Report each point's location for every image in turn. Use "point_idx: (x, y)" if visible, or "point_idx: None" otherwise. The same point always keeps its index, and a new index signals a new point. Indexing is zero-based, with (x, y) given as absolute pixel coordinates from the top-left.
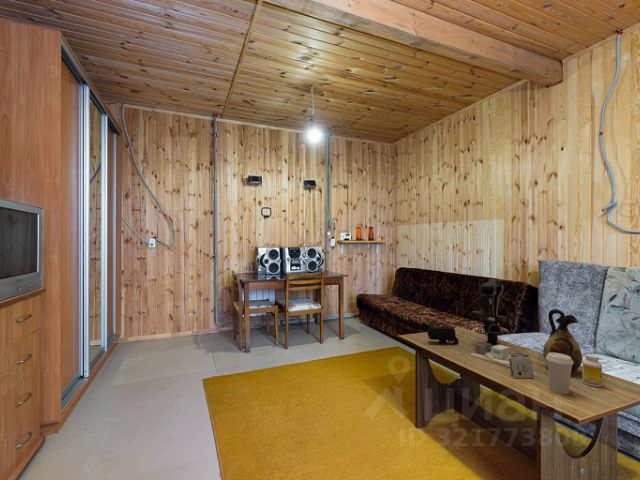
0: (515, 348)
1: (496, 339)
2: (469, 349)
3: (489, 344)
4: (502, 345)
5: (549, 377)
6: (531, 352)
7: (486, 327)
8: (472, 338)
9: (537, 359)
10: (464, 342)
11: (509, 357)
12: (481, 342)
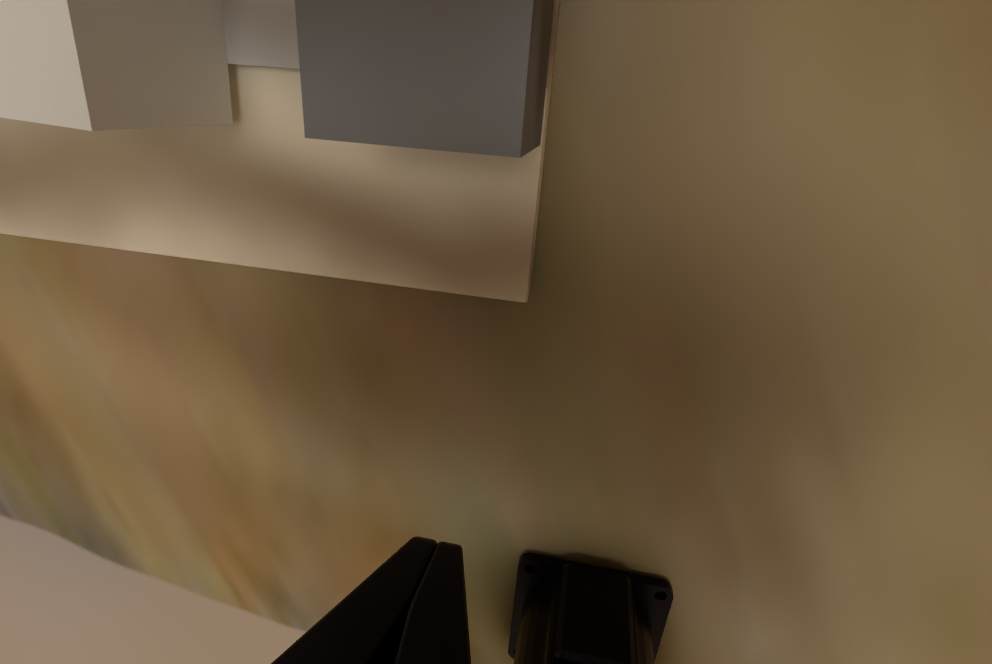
0: (328, 584)
1: (516, 658)
2: (777, 25)
3: (311, 72)
4: (29, 111)
5: None
6: (180, 556)
7: (414, 640)
8: (890, 660)
9: (20, 379)
10: (980, 395)
11: None
12: (510, 67)
